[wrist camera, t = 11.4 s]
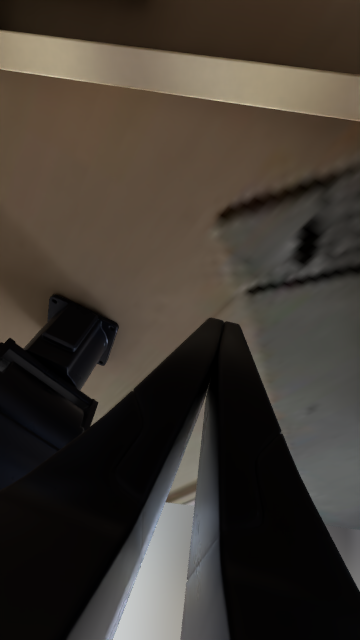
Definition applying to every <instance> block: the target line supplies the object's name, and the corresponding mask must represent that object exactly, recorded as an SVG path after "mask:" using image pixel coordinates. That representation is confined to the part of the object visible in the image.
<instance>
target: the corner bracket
mask: <svg viewBox="0 0 360 640" xmlns="http://www.w3.org/2000/svg"><path fill="white" fill-rule="evenodd" d="M0 69H2V70H9V71H16V72H23V73H30V74H37V75H43V76H50V77H57V78H64V79H71V80H78V81H85V82H92V83H98V84H105V85H112V86H119V87H126V88H133V89H140V90H147V91H154V92H160V93H167V94H174V95H181V96H188V97H195V98H202V99H209V100H215V101H222V102H229V103H236V104H243V105H250V106H257V107H264V108H270V109H277V110H284V111H291V112H298V113H305V114H312V115H319V116H326V117H332V118H339V119H346V120H353V121H360V75H358V74H350V73H343V72H335V71H327V70H319V69H311V68H303V67H295V66H287V65H279V64H271V63H263V62H255V61H247V60H239V59H231V58H223V57H216V56H208V55H200V54H192V53H184V52H176V51H168V50H160V49H152V48H144V47H136V46H128V45H120V44H112V43H104V42H96V41H88V40H81V39H73V38H65V37H57V36H49V35H41V34H33V33H25V32H17V31H9V30H1V29H0Z"/></svg>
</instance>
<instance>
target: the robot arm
mask: <svg viewBox="0 0 360 640" xmlns="http://www.w3.org/2000/svg"><path fill="white" fill-rule="evenodd" d="M118 328H119V326H118V324H117V323H116V322H114V321H112V320H110V319H108V318H105V317H103V316H101V315H99V314H97V313H95V312H93V311H91V310H89V309H86V308H84V307H82V306H80V305H78V304H76V303H74V302H72V301H69V300H67V299H65V298H63V297H61V296H59V295H56V294H54V295H52V296H51V297H50V299H49V310H48V322H47V323H46V324H45V326H44V327H43V328H42V329H41V330H40V331H39V332H38V333H37V334H36V335H35V337H34V338H33V339H32V340H31V341H30V342H29V343H28V344H27V345H26V346H25V348H24V349H23V348H21V347H20V346H19V345H17V344H16V343H15V341H14V340H12V339H11V338H9V339H8V340H7V341H6V342H5V343H2V342H1V343H0V640H113V637H114V634H115V632H116V629H117V626H118V624H119V621H120V619H121V616H122V614H123V611H124V608H125V606H126V603H127V601H128V598H129V595H130V592H131V590H132V588H133V585H134V582H135V580H136V577H137V574H138V572H139V569H140V567H141V563H142V561H143V559H144V556H145V554H146V551H147V548H148V546H149V543H150V541H151V538H152V535H153V533H154V530H155V527H156V525H157V522H158V520H159V517H160V514H161V512H162V509H163V506H164V504H165V501H166V499H167V496H168V494H169V491H170V488H171V486H172V483H173V481H174V478H175V475H176V473H177V470H178V468H179V465H180V462H181V460H182V457H183V455H184V452H185V449H186V447H187V444H188V441H189V439H190V436H191V434H192V431H193V428H194V426H195V423H196V421H197V418H198V415H199V413H200V410H201V408H202V405H203V402H204V399H205V396H206V393H207V396H206V403H205V412H204V421H203V431H202V440H201V450H200V459H199V469H198V479H197V488H196V498H195V507H194V517H193V527H192V536H191V546H190V556H189V564H188V574H187V580H188V581H187V583H186V594H185V603H184V612H183V621H182V631H181V640H360V591H359V590H358V588H357V586H356V584H355V582H354V580H353V578H352V577H351V574H350V573H349V571H348V569H347V567H346V565H345V563H344V561H343V559H342V557H341V555H340V553H339V551H338V550H337V547H336V545H335V544H334V542H333V540H332V538H331V536H330V534H329V532H328V530H327V528H326V526H325V524H324V522H323V520H322V518H321V517H320V515H319V513H318V511H317V509H316V507H315V505H314V503H313V501H312V499H311V497H310V495H309V493H308V491H307V489H306V487H305V485H304V483H303V481H302V479H301V477H300V475H299V472H298V470H297V468H296V465H295V463H294V461H293V458H292V456H291V454H290V451H289V449H288V446H287V444H286V441H285V438H284V436H283V434H281V429H280V426H279V424H278V421H277V418H276V416H275V413H274V411H273V408H272V406H271V403H270V401H269V398H268V396H267V393H266V390H265V388H264V385H263V383H262V380H261V378H260V375H259V373H258V370H257V368H256V365H255V362H254V360H253V357H252V355H251V352H250V350H249V347H248V345H247V342H246V340H245V337H244V334H243V332H242V329H241V327H240V325H239V324H236V323H231V322H227V321H226V322H225V323H224V322H223V320H219V319H215V318H209V319H207V320H206V321H205V322H204V323H203V324H202V325H201V326H200V327H199V328H198V329H197V330H196V331H195V332H194V333H193V334H192V335H190V336H189V337H188V338H187V339H186V340H185V341H184V342H183V343H182V344H181V345H180V346H179V347H178V348H177V349H176V350H175V351H174V352H172V353H171V354H170V355H169V356H168V357H167V358H166V359H165V360H164V361H163V362H162V363H161V364H160V365H159V366H158V367H157V368H156V369H154V370H153V371H152V372H151V373H150V374H149V375H148V376H147V377H146V378H145V379H144V380H143V381H142V382H141V383H140V384H139V385H138V386H136V387H135V388H134V392H133V391H131V392H130V393H129V394H128V395H127V396H126V397H125V398H124V399H123V400H121V401H120V402H119V403H118V404H117V405H116V406H115V407H114V408H112V409H111V410H110V411H109V412H108V413H107V414H106V415H105V416H103V417H102V418H101V419H99V420H98V421H97V422H96V423H94V424H93V425H92V426H91V427H90V425H91V422H92V420H93V417H94V414H95V411H96V408H97V405H98V402H97V401H95V400H94V399H91V398H89V397H88V396H87V395H85V394H84V393H83V392H81V391H80V390H81V388H82V387H83V385H84V384H85V382H86V380H87V379H88V377H89V375H90V374H91V372H92V371H93V369H94V367H95V366H96V364H99V365H102V366H104V365H105V364H106V362H107V360H108V357H109V354H110V351H111V349H112V346H113V343H114V340H115V337H116V334H117V331H118ZM207 389H208V391H207Z"/></svg>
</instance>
